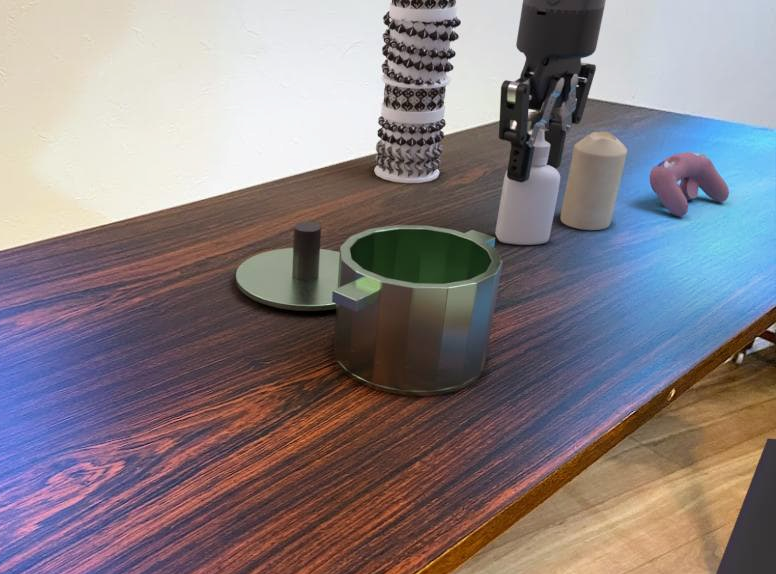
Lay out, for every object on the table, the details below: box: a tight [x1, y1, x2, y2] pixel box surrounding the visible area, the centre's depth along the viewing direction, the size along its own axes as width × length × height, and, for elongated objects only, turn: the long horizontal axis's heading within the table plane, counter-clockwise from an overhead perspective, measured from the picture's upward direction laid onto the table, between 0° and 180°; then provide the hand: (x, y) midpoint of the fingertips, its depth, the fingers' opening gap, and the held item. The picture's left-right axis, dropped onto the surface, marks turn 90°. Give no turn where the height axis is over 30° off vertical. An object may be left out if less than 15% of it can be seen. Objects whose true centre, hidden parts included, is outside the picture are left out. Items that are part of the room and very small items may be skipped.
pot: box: [332, 224, 503, 397], centre depth 75 cm, size 13×18×10 cm
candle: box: [560, 131, 628, 231], centre depth 101 cm, size 6×6×10 cm
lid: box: [235, 221, 340, 312], centre depth 88 cm, size 14×14×6 cm
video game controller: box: [649, 151, 730, 218], centre depth 108 cm, size 10×5×7 cm, turn 124°
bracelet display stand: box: [373, 0, 462, 184], centre depth 112 cm, size 9×9×25 cm
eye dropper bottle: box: [494, 128, 561, 246], centre depth 96 cm, size 4×6×12 cm
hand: (533, 173), depth 96 cm, fingers open, 5 cm apart
